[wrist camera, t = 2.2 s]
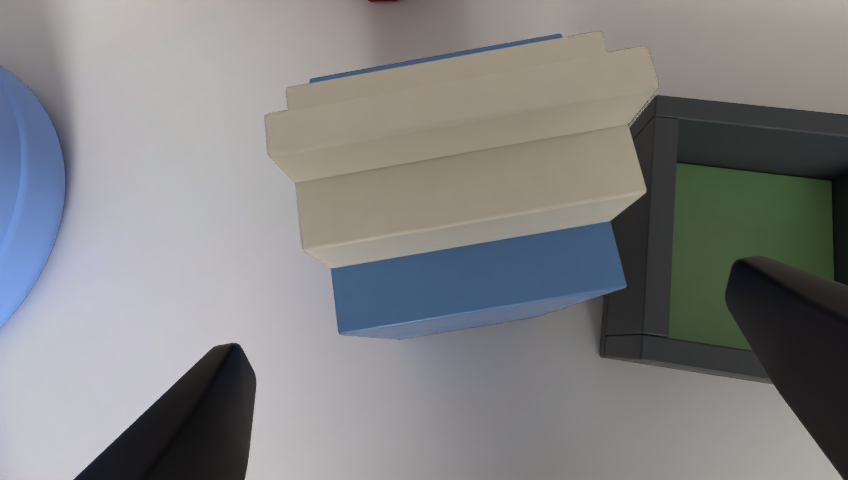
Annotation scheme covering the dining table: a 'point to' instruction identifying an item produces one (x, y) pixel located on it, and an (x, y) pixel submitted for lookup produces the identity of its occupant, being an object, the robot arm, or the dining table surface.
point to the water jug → (26, 191)
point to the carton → (466, 181)
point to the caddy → (721, 225)
